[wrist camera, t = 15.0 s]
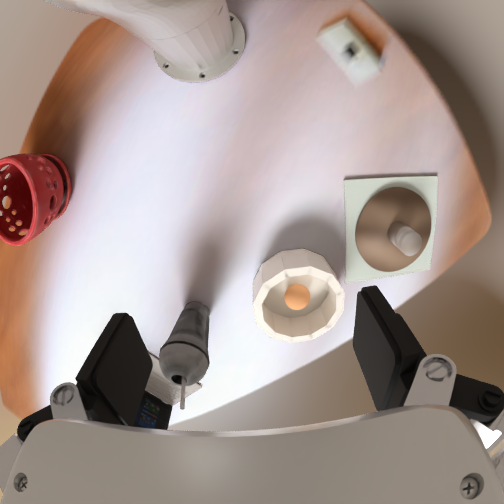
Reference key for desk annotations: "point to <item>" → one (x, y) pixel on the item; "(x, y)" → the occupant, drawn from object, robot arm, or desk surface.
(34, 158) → the plant pot
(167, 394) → the laptop
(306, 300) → the ball
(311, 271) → the bowl
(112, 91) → the desk surface
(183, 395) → the beverage cup
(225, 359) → the desk surface
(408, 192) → the lid
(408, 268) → the mat
